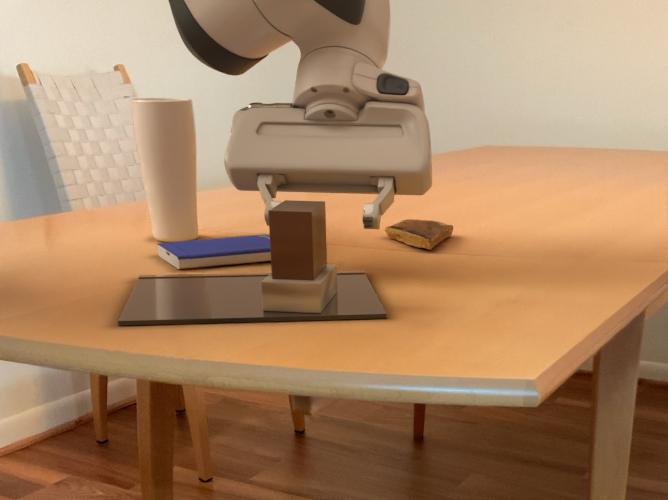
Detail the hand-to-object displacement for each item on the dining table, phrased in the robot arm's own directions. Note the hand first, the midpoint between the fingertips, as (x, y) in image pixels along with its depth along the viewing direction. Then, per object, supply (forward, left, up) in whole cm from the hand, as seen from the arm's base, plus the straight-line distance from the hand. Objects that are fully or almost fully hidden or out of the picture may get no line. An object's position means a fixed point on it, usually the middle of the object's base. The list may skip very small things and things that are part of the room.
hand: (321, 224), depth 87 cm
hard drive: (-10, +12, -6) cm, 17 cm away
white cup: (-16, +24, -6) cm, 29 cm away
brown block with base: (-3, -10, -5) cm, 11 cm away
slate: (-7, -7, -5) cm, 11 cm away
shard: (+14, +20, -6) cm, 25 cm away
